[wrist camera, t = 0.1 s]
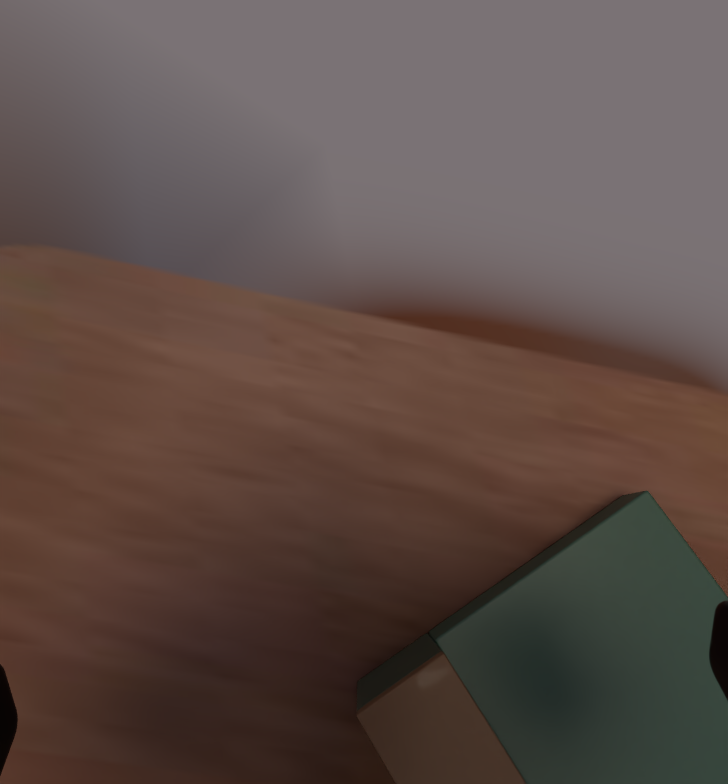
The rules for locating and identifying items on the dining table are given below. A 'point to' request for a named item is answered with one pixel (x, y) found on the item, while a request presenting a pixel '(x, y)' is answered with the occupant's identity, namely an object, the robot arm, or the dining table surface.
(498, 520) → the dining table surface
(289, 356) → the dining table surface
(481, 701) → the green l-shaped stand
